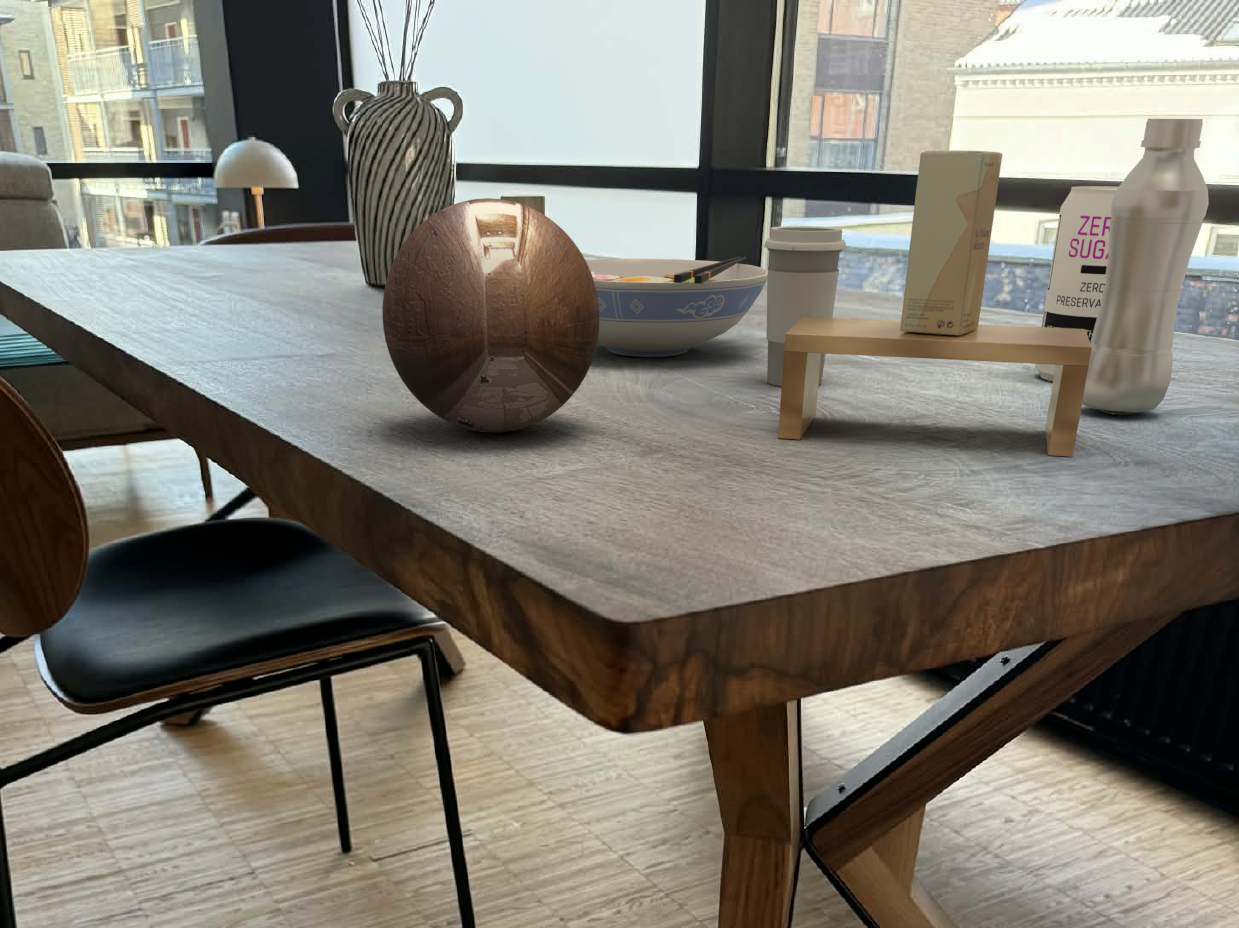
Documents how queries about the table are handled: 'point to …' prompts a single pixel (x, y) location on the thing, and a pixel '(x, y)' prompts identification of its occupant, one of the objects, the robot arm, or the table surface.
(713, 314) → the ramen bowl
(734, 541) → the table surface
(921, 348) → the shelf
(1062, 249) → the supplement can
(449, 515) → the table surface
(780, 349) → the cup
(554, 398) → the copper ball
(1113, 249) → the plastic bottle
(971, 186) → the box
